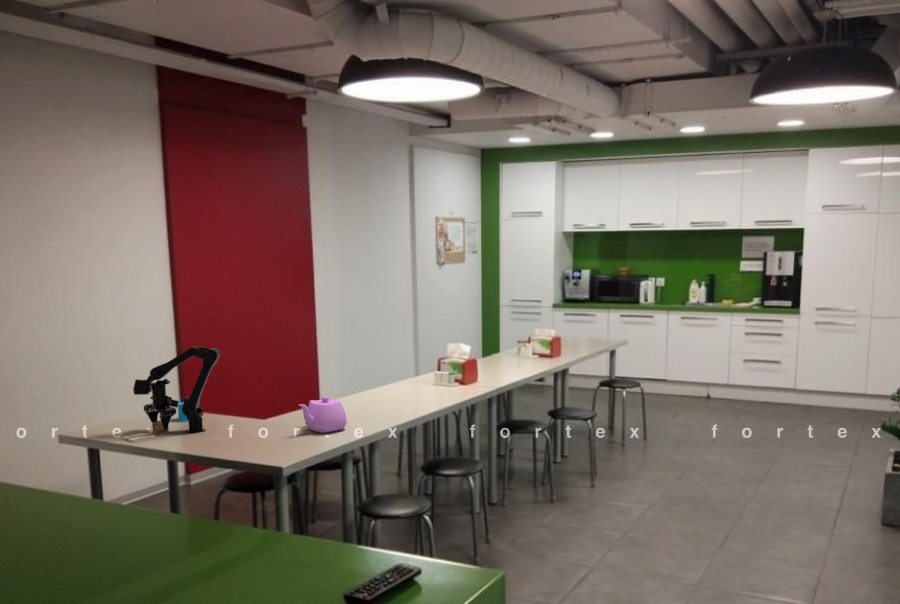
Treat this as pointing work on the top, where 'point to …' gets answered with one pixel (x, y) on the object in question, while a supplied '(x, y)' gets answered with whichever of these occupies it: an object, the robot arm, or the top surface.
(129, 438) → the birch coaster
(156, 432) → the walnut cube
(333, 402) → the teapot
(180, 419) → the mug
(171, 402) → the robot arm
